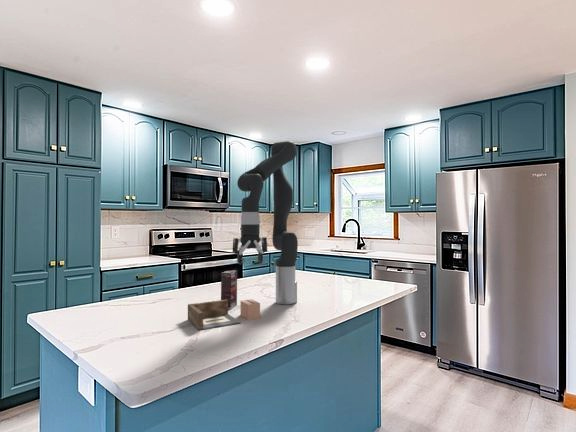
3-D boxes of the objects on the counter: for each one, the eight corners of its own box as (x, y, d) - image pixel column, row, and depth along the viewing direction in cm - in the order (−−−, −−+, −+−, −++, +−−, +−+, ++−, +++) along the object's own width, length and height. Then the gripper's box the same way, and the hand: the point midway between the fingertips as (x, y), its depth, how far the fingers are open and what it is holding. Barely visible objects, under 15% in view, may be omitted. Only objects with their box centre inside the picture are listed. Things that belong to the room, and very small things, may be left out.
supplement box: (230, 310, 154) (230, 273, 154) (220, 309, 155) (220, 272, 155) (237, 305, 163) (237, 270, 163) (227, 304, 164) (227, 269, 164)
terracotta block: (251, 313, 149) (251, 298, 149) (260, 318, 142) (260, 302, 142) (240, 315, 147) (240, 300, 147) (248, 320, 140) (248, 304, 140)
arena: (226, 314, 148) (226, 299, 148) (240, 323, 135) (240, 307, 135) (187, 319, 140) (187, 304, 140) (198, 330, 127) (198, 313, 127)
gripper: (262, 223, 151) (261, 261, 151) (230, 223, 144) (230, 263, 144) (270, 223, 145) (270, 263, 145) (237, 223, 138) (237, 265, 138)
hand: (250, 263), depth 145 cm, fingers open, 8 cm apart
